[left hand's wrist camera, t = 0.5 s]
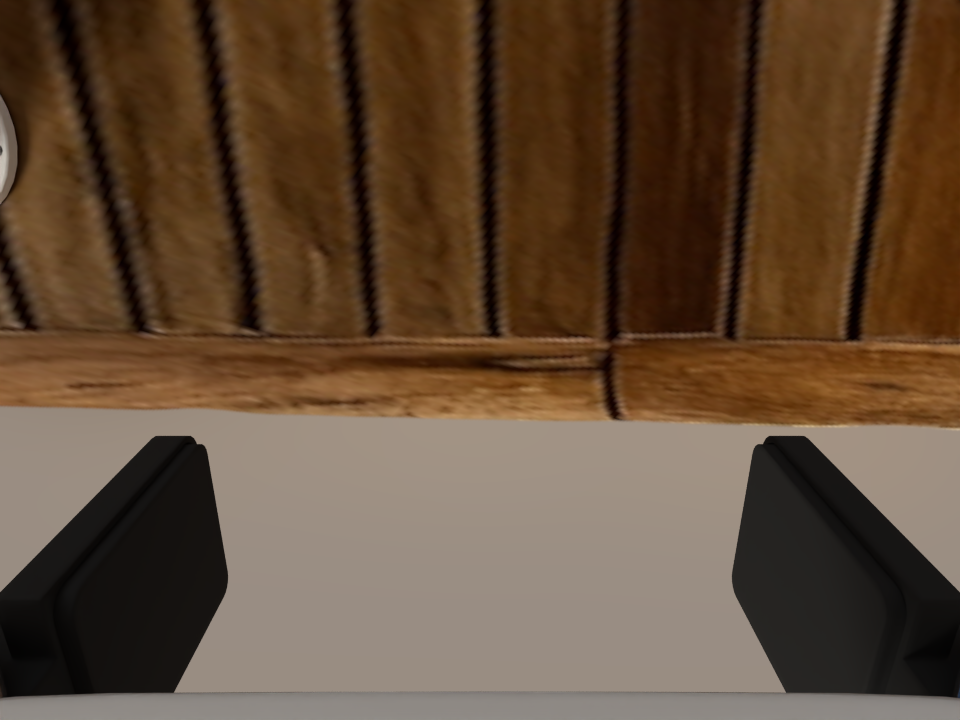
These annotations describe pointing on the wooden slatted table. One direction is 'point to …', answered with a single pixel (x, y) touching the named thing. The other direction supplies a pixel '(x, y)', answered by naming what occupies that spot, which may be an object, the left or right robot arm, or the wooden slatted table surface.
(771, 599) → the left robot arm
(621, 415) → the wooden slatted table surface
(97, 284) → the wooden slatted table surface
